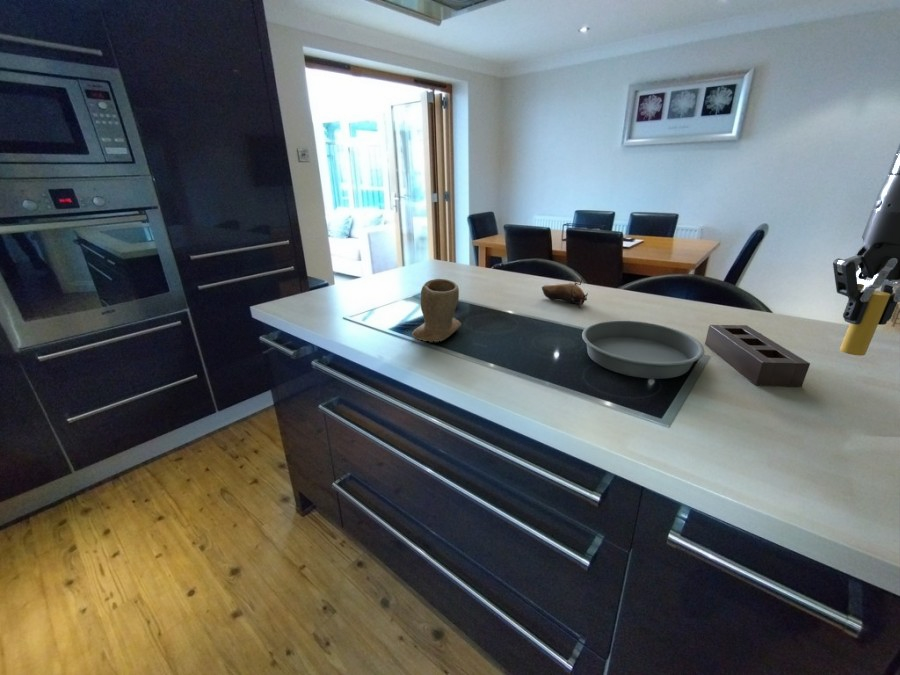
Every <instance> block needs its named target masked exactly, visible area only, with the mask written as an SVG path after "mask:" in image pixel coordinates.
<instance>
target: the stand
mask: <svg viewBox="0 0 900 675" xmlns="http://www.w3.org/2000/svg"><path fill="white" fill-rule="evenodd" d="M706 333H707V334H706V337H705V341H704V345H705V346H706V347H707V348H709V349H710V350H711V351H713V352H714V353H715V354H716V355H717V356H718V357H720V359H723V360H724V362H726V363H727V364H728V365H729V366H730V367H732V368H734V370H736V371H737V372H738V373H739V374H741V375H742V376H743V377H744V378H746V379H747V380H748V381H749V382H751V383H752V384H753V385H754V386H757V387H758V386H761V387H763V386H764V387H768V386H769V387H793V388H794V387H796V388H799V387H800V388H802V387H803V385H804V382H805V379H806V376H807V374H808V371H809V369H810V366H811V363H810V362H809V361H807V360H805V359H803V358H802V357H800V356H798V355H797V354H795V353H793V352H792V351H790V350H788V349H787V348H785V347H783V346H782V345H780V344H779V343H777V342H775V341H773V340H772V339H771V338H769V337H767V336H765V335H763V334H762V333H760V332H759V331H757V330H755V329H754V328H752V327H750V326H748V325H747V324H709V325H708V329H707V332H706Z"/></svg>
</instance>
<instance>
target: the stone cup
mask: <svg viewBox="0 0 900 675" xmlns="http://www.w3.org/2000/svg"><path fill="white" fill-rule="evenodd" d="M419 298H420V310H421V312H422V316H423V321H424V323H422V324H421V325H419V326H418V327H417V328H415V329H414V330H413V331H412V333H411V336H412V338H414V339H416V340H418V339H419V340H418V341H421V340H423V341H422V342H426V341H429V342H428V343H439V341H440V342H442V341H445V340H447V339H448V338H449V337H450V336H452V335H453V334H454V333H455V332H456V331H457V330H458V329H459V328H460V327H461V326H462V322H460V320H458V319H456V318H455V317H454V316H455V312H456V309H457V306H458V303H459V299H460V288H459V285H458V284H457V283H456V282H454V281H452V280H449V279H446V278H433V279H429V280H428V281H425V283H423V285H422V287H421V290H420V297H419ZM433 341H434V342H433Z"/></svg>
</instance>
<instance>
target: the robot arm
mask: <svg viewBox="0 0 900 675" xmlns="http://www.w3.org/2000/svg"><path fill="white" fill-rule="evenodd" d="M861 238H862V241H863V244H862V246H861V247H860V248H859V249H858V250H857V251H856V253H855V255H854V256H851V257H848V258H847V257H846V258H845V259H844V258H839V257H838V258H836V259H834V260H833V263H832V267H833V268H832V269H833V274H834V282H835V290H836V293H837V294H839V295H842V296H844V297H847V298H848V299H847V300H848V301H847V303H846V305H845V308H844V311H843V313H842V317H843V320H844V322H845V323H846V322H847V323H848V324H850V323H851V324H860V323H861V321H862V318H863V316H864V313H865V311H866V308H867V306H868V303H869V302H867V301H868V300H869V299H870V297H871V296H872V294H873V292H874V291H876V290H877V289H879V288H880V291H882V292H886V293H889V294H890V297H889V300H888V302H887V304H886V307H885V309H884V311H883V314H882V316H881V318H880V321H879V323H878V325H879V326H880V325H881V326H884V325H887V323H888V322H889V321H890V320H891V319H892V316H893V314H894V312H895V309H896V308H897V305H898V303H900V143H899V144H898V146H897V149H896V151H895V154H894V156H893V159H892V162H891V165H890V167H889V170H888V173H887V175H886V178H885V179H884V181H883V183H882V185H881V187H880V189H879V190H878V193H877V195H876V199H875V201H874V204H873V206H872V209H871V212H870V215H869V217H868V220H867V222H866V225H865V227H864V231H863V233H862V236H861ZM870 279H871V280H870Z"/></svg>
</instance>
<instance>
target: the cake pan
mask: <svg viewBox="0 0 900 675" xmlns="http://www.w3.org/2000/svg"><path fill="white" fill-rule="evenodd" d="M581 338H582V340H583V341H584V343H585V344H586V350H587V355H588V357H589V358H590V359H591V360H592V361H593V362H594V363H596V364H597V365H598V366H600V367H602V368H604V369H606V370H607V371H611V372H614V373H616V374H617V373H618V374H620V375H623V376H628V377H633V378H640V379H648V380H649V379H650V380H664V379H665V380H666V379H673V378H677V377H680V376H683V375H685V374H686V373H688V372H689V371H690V369H691V367H692V366H693V364H694V363H695V362H696V361H699V360H700V359H701V358H703V356H704V355H705V348H704V345H703V343H701V342H700V341H699V340H698V339H697V338H695V337H693V336H691V335H690V334H688V333H686V332H683V331H681V330H679V329H677V328H673V327H669V326H666V325H662V324H657V323H651V322H645V321H638V320H608V321H601V322H597V323H596V322H595V323H593V324H591V325H588V326H587V327H585V328H584V329H583V331H582V334H581Z"/></svg>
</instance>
